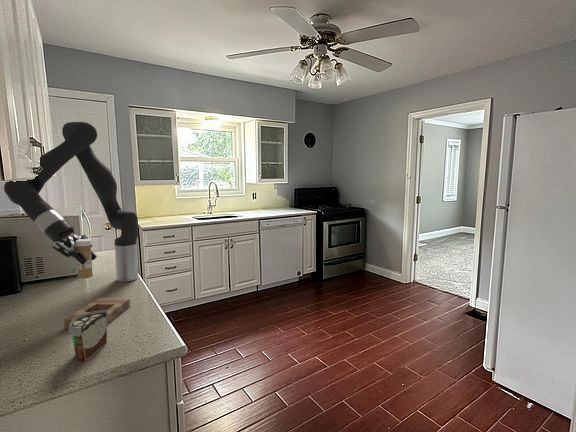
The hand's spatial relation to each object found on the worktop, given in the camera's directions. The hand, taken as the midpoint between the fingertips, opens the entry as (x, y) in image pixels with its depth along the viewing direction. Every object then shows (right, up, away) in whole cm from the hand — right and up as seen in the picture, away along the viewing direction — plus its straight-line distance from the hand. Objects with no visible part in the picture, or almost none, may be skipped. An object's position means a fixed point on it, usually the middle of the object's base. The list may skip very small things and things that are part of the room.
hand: (89, 260), depth 109 cm
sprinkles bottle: (-2, -6, +1) cm, 7 cm away
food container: (+13, -23, -21) cm, 34 cm away
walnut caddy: (+3, -20, +1) cm, 20 cm away
